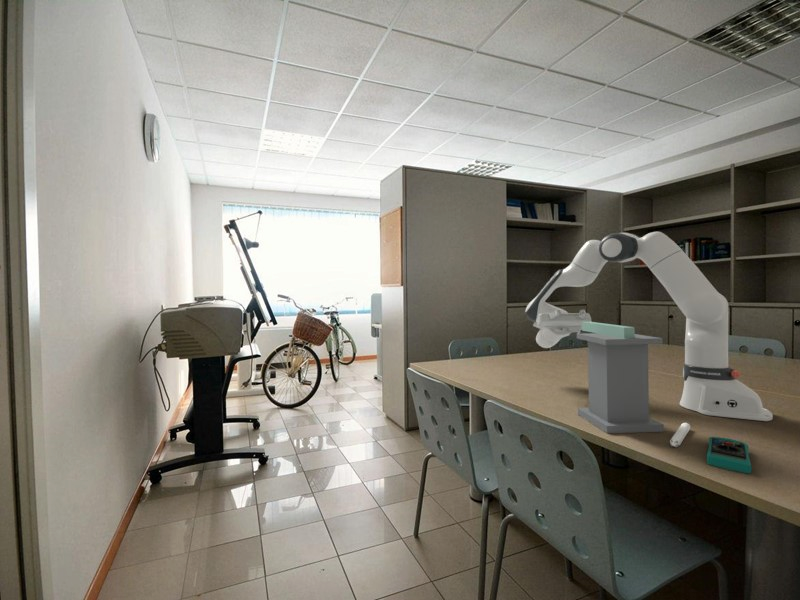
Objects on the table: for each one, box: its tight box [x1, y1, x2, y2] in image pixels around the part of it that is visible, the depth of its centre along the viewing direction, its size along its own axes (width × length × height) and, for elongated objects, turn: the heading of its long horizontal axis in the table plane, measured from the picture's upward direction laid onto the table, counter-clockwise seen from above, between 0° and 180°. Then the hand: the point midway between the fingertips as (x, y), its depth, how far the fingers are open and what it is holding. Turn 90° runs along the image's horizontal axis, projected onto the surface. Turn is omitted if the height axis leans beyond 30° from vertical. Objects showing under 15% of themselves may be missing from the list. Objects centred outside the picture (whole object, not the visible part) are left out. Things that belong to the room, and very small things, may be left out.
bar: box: [581, 321, 636, 338], centre depth 115 cm, size 23×3×3 cm, turn 1°
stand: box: [576, 332, 665, 434], centre depth 110 cm, size 16×16×26 cm
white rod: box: [669, 422, 691, 448], centre depth 98 cm, size 18×2×2 cm, turn 134°
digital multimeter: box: [706, 436, 752, 474], centre depth 86 cm, size 7×15×3 cm, turn 139°
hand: (571, 311), depth 139 cm, fingers open, 8 cm apart
